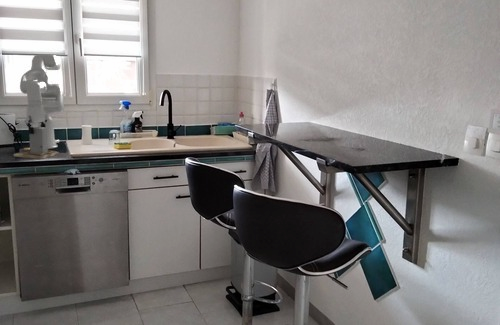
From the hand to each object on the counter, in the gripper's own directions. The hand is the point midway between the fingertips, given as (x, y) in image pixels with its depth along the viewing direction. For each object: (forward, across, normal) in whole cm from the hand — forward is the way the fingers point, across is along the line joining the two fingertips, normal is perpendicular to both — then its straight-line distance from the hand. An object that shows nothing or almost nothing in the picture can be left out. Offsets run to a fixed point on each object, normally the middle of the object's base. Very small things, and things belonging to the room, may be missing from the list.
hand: (37, 132), depth 280 cm
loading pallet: (+14, 0, -2) cm, 14 cm away
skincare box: (+13, 0, 0) cm, 13 cm away
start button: (+13, 0, -9) cm, 16 cm away
